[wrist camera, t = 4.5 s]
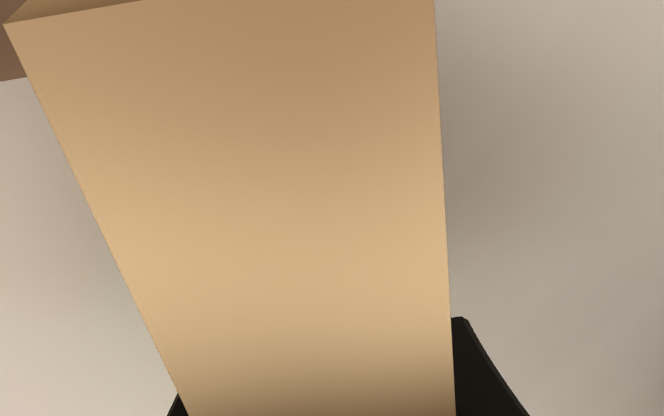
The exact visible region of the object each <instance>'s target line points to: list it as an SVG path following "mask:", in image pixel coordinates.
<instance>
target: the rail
mask: <svg viewBox="0 0 664 416" xmlns="http://www.w3.org/2000/svg"><path fill="white" fill-rule="evenodd" d="M3 26H4V28H5V30H6V32H7V34H8V36H9V39H10V41H11V43H12V45H13V47H14V49H15V51H16V53H17V55H18V57H19V60H20V62H21V64H22V66H23V68H24V70H25V72H26V74H27V76H28V78H29V81H30V83H31V85H32V87H33V89H34V91H35V93H36V95H37V97H38V100H39V102H40V104H41V106H42V108H43V110H44V112H45V114H46V116H47V118H48V121H49V123H50V125H51V127H52V129H53V131H54V133H55V135H56V137H57V139H58V142H59V144H60V146H61V148H62V150H63V152H64V154H65V156H66V158H67V160H68V163H69V165H70V167H71V169H72V171H73V173H74V175H75V177H76V179H77V181H78V184H79V186H80V188H81V190H82V192H83V194H84V196H85V198H86V200H87V203H88V205H89V207H90V209H91V211H92V213H93V215H94V217H95V219H96V221H97V224H98V226H99V228H100V230H101V232H102V234H103V236H104V238H105V240H106V242H107V245H108V247H109V249H110V251H111V253H112V255H113V257H114V259H115V261H116V263H117V266H118V268H119V270H120V272H121V274H122V276H123V278H124V280H125V282H126V284H127V287H128V289H129V291H130V293H131V295H132V297H133V299H134V301H135V303H136V306H137V308H138V310H139V312H140V314H141V316H142V318H143V320H144V322H145V324H146V327H147V329H148V331H149V333H150V335H151V337H152V339H153V341H154V343H155V345H156V348H157V350H158V352H159V354H160V356H161V358H162V360H163V362H164V364H165V366H166V369H167V371H168V373H169V375H170V377H171V379H172V381H173V383H174V385H175V387H176V390H177V392H178V394H179V396H180V398H181V400H182V402H183V404H184V406H185V409H186V411H187V413H188V415H189V416H456V409H455V390H454V371H453V352H452V334H451V315H450V296H449V277H448V258H447V239H446V220H445V201H444V183H443V164H442V145H441V126H440V107H439V88H438V69H437V50H436V32H435V13H434V0H27V1H26V2H25V3H24V4H23V5H22V6H21V7H20V8H19V9H18V10H17V11H16V12H15V13H14V14H13V15H12V16H11V17H10V18H9V19H8V20H7V21H5V22H4V23H3Z"/></svg>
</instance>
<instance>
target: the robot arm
mask: <svg viewBox="0 0 664 416" xmlns="http://www.w3.org/2000/svg"><path fill="white" fill-rule="evenodd" d="M451 334H452V352H453V371H454V390H455V409H456V416H530V415H529V414H528V413H527V411H526V410H525V409H524V407H523V406H522V405H521V403H520V402H519V401H518V399H517V398H516V396H515V395H514V394H513V392H512V391H511V389H510V388H509V386H508V385H507V383H506V382H505V381H504V379H503V378H502V376H501V375H500V373H499V372H498V370H497V369H496V367H495V366H494V364H493V363H492V361H491V359H490V358H489V356H488V355H487V353H486V351H485V350H484V348H483V346H482V345H481V343H480V341H479V340H478V338H477V336H476V334H475V333H474V331H473V329H472V327H471V325H470V323H469V321H468V320H466V319H465V318H463V317H462V316H461V317H454V318H451ZM167 416H189V415H188V413H187V411H186V409H185V406H184V404H183V402H182V400H181V398H180V396H179V394H178V393H177V396H176V398H175V400H174V402H173V404H172V406H171V408H170V410H169V413H168V415H167Z"/></svg>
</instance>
